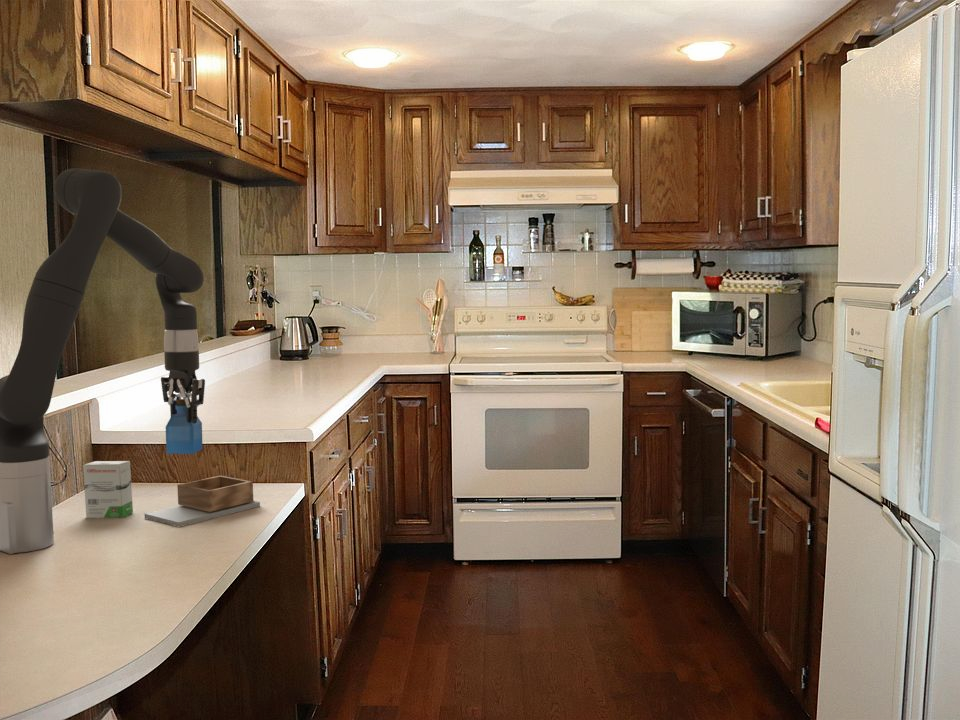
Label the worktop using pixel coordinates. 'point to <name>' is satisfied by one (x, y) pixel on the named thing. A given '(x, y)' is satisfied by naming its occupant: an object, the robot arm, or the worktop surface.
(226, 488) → the box
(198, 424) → the perfume bottle
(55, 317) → the robot arm
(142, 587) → the worktop surface
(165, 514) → the backstop board
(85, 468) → the ink box
